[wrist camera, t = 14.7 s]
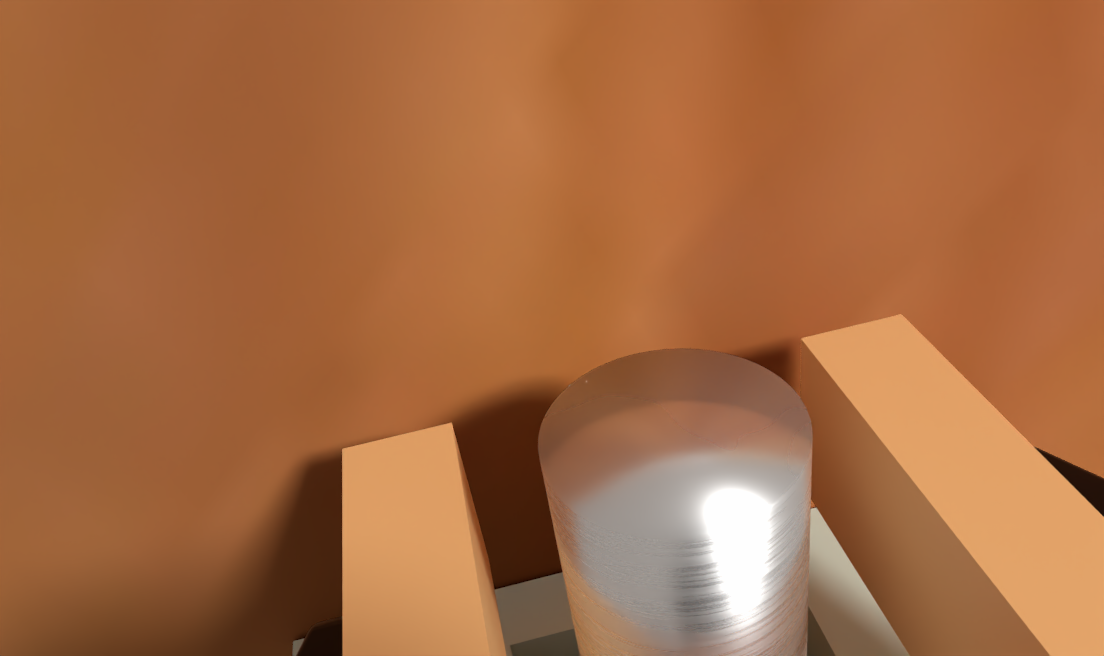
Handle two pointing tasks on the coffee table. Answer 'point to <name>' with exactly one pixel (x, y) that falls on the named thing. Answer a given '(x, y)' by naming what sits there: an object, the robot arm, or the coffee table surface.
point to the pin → (682, 506)
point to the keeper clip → (836, 490)
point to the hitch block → (833, 610)
